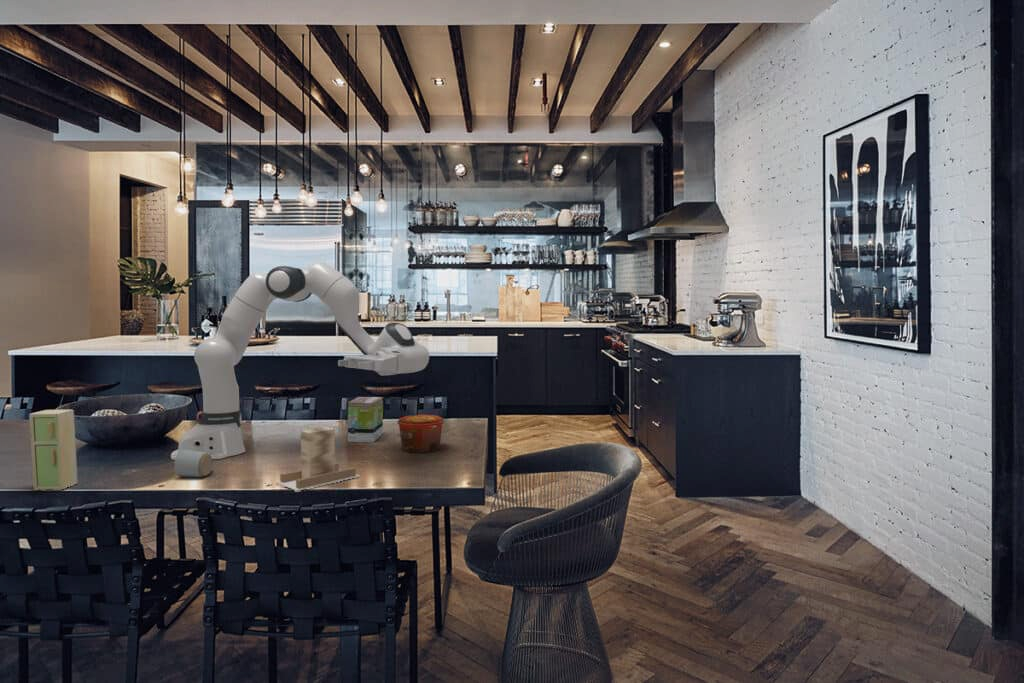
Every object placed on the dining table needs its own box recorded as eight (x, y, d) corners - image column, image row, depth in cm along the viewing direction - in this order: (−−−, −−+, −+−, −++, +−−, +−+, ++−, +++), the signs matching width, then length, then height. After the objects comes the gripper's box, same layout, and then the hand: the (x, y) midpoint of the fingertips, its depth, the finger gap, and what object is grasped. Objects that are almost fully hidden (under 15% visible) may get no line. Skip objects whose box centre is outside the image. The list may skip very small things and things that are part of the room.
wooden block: (310, 483, 184) (309, 433, 183) (301, 479, 187) (300, 430, 186) (335, 477, 189) (334, 428, 189) (326, 474, 192) (326, 426, 192)
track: (296, 492, 177) (296, 481, 177) (276, 484, 184) (276, 474, 184) (359, 477, 192) (359, 467, 191) (338, 470, 199) (338, 461, 199)
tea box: (374, 442, 238) (374, 402, 237) (347, 442, 238) (346, 402, 237) (383, 434, 253) (383, 396, 252) (357, 434, 253) (356, 396, 252)
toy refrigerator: (30, 491, 177) (26, 413, 176) (49, 484, 184) (46, 409, 183) (60, 491, 177) (56, 413, 176) (78, 484, 184) (75, 409, 183)
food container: (418, 442, 240) (418, 412, 239) (453, 447, 231) (453, 417, 230) (387, 450, 227) (387, 419, 226) (423, 456, 218) (422, 424, 217)
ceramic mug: (200, 480, 188) (200, 453, 188) (173, 479, 189) (173, 452, 189) (220, 471, 199) (220, 446, 199) (194, 470, 200) (194, 445, 199)
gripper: (366, 349, 216) (329, 352, 206) (405, 353, 202) (367, 355, 192) (366, 368, 216) (329, 372, 206) (405, 373, 202) (368, 377, 192)
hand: (348, 364), depth 199 cm, fingers open, 8 cm apart
